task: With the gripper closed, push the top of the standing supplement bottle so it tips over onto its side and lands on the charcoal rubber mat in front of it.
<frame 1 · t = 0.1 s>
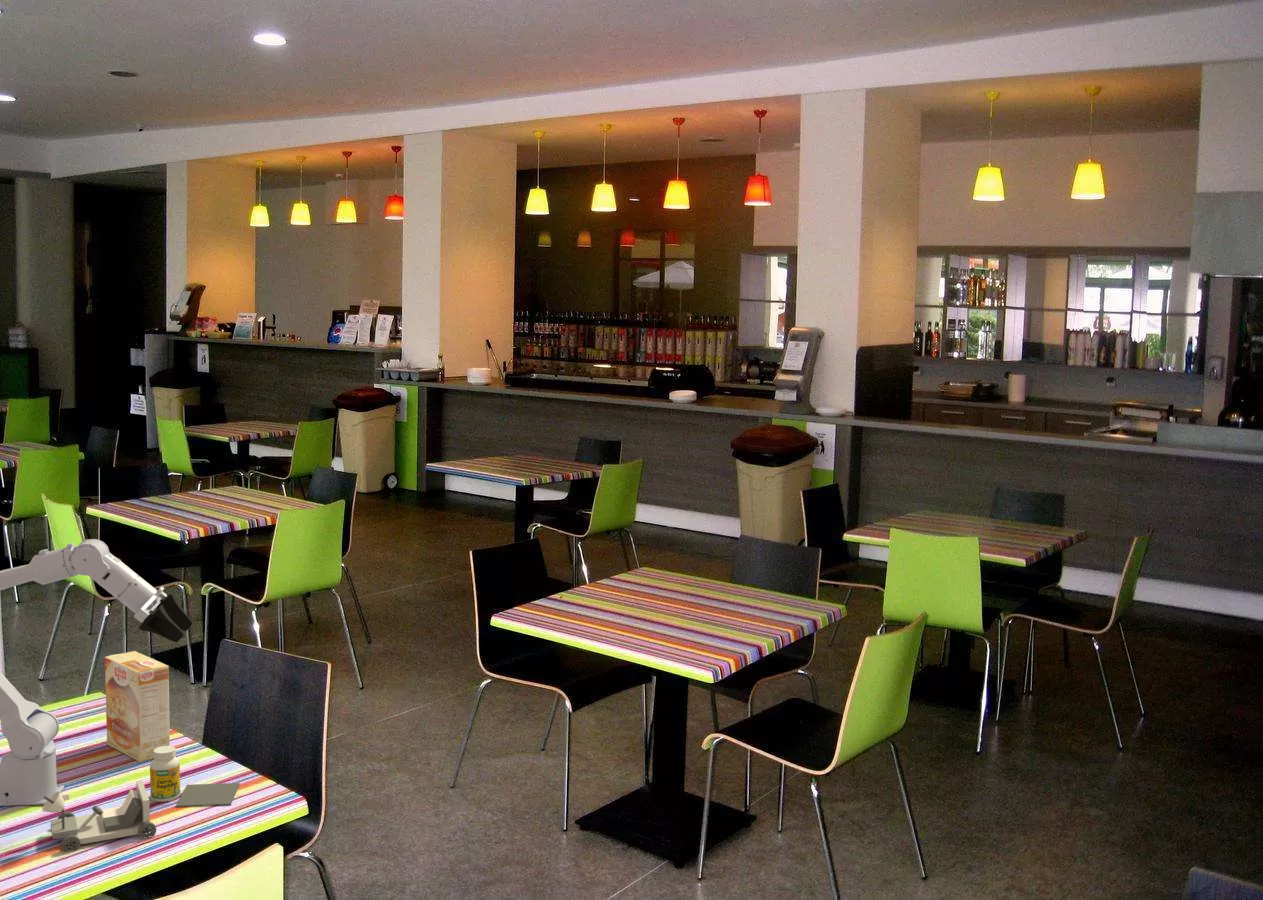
hand: (185, 632, 227), 32 cm above the table, tool tilted 50°, fingers open, 7 cm apart
toy car: (98, 835, 213), on the table
supplement bottle: (165, 798, 229), on the table
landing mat: (208, 795, 230), on the table
coffeecake box: (138, 750, 252), on the table
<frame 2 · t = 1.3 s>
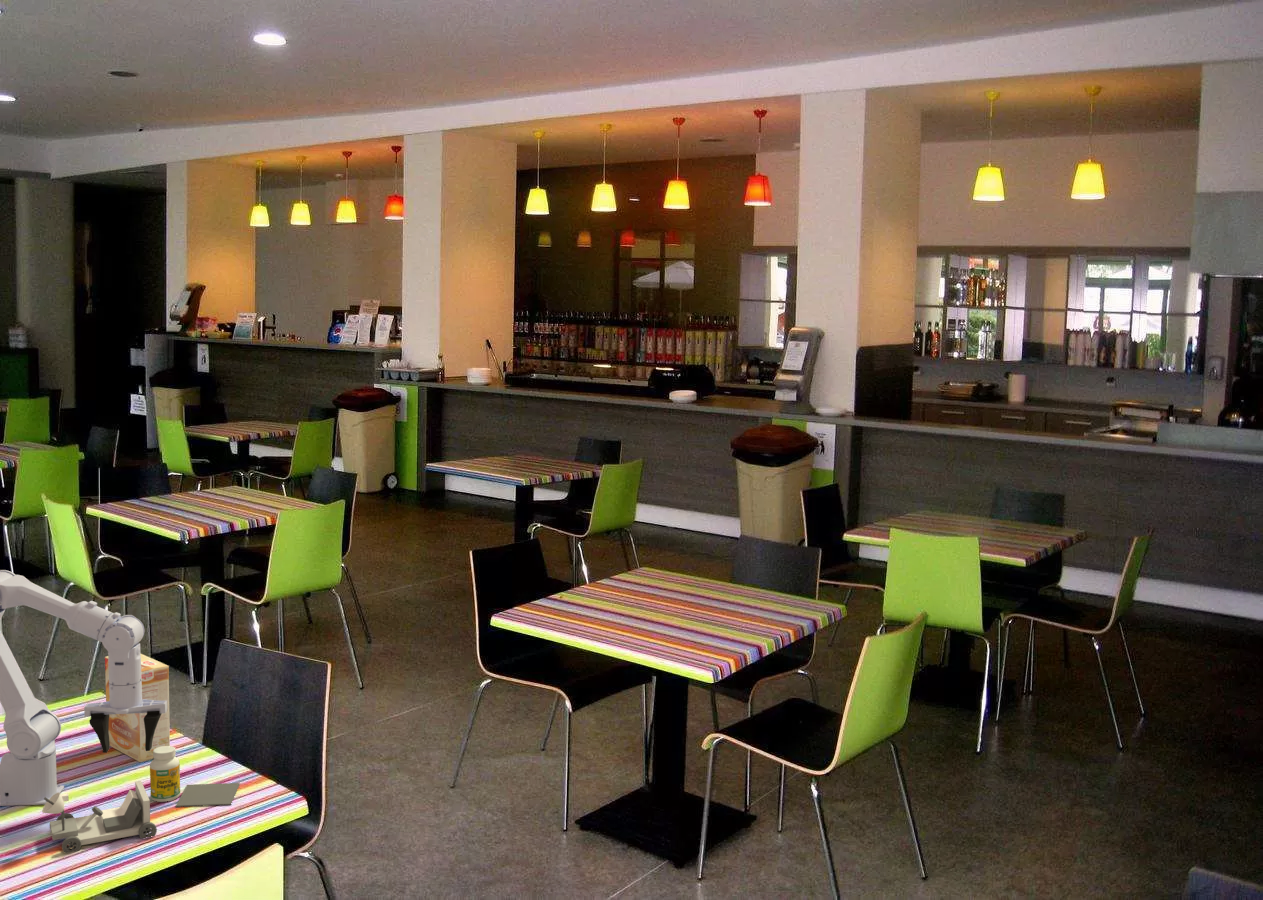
hand: (127, 750, 226), 10 cm above the table, tool pointing down, fingers open, 7 cm apart
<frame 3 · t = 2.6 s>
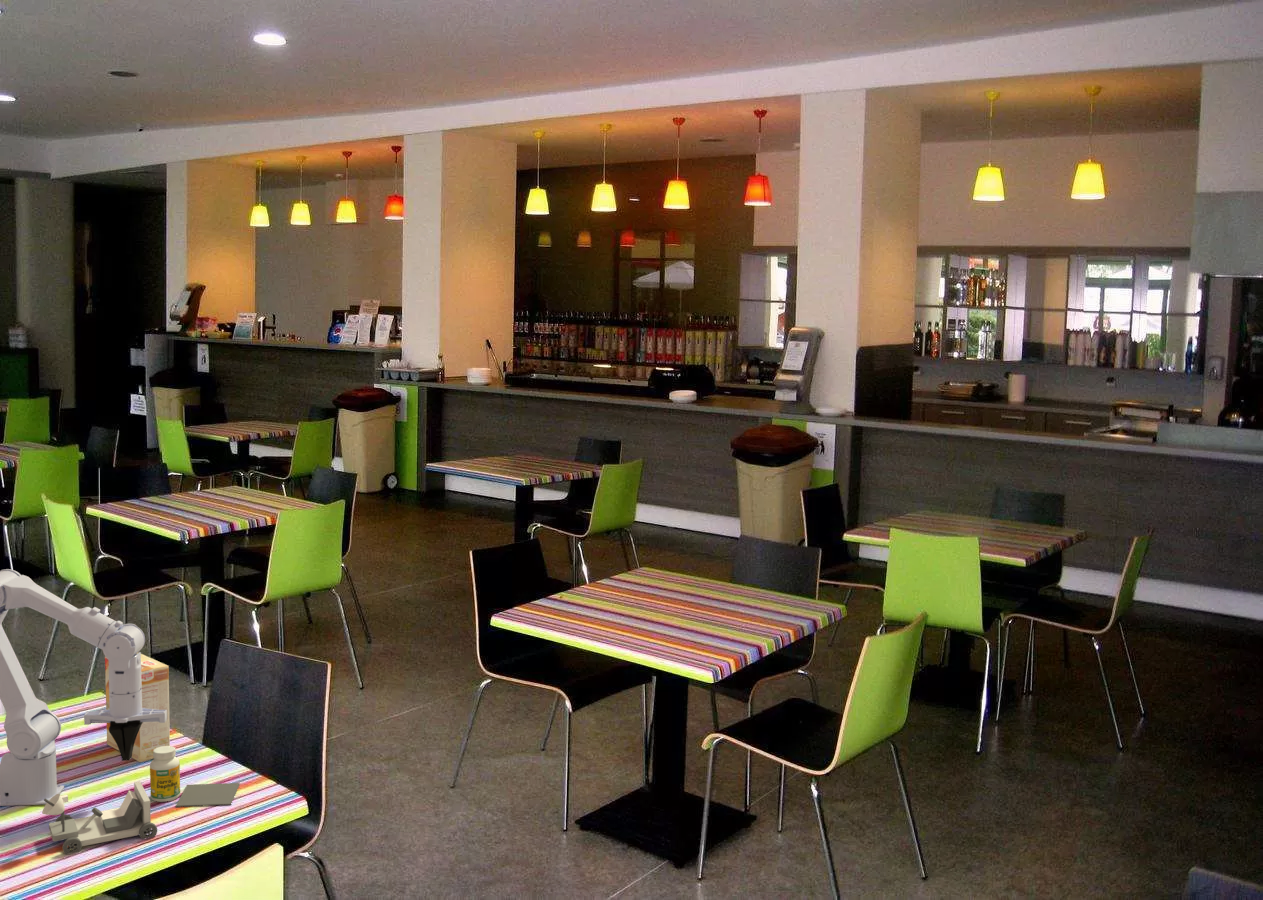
hand: (126, 758, 226), 8 cm above the table, tool pointing down, fingers closed
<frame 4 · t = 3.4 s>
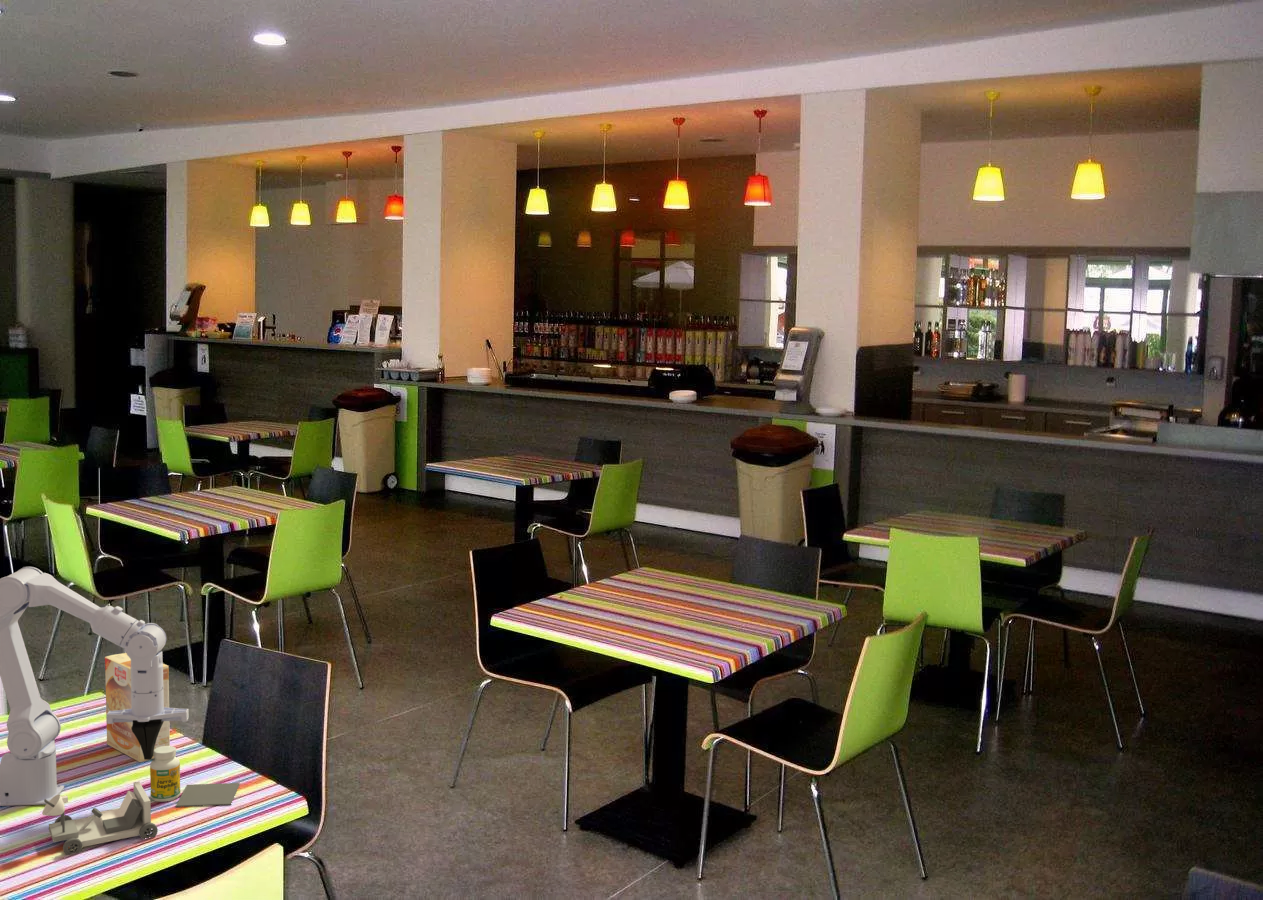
hand: (148, 757, 227), 8 cm above the table, tool pointing down, fingers closed
supplement bottle: (165, 798, 229), on the table, touching gripper
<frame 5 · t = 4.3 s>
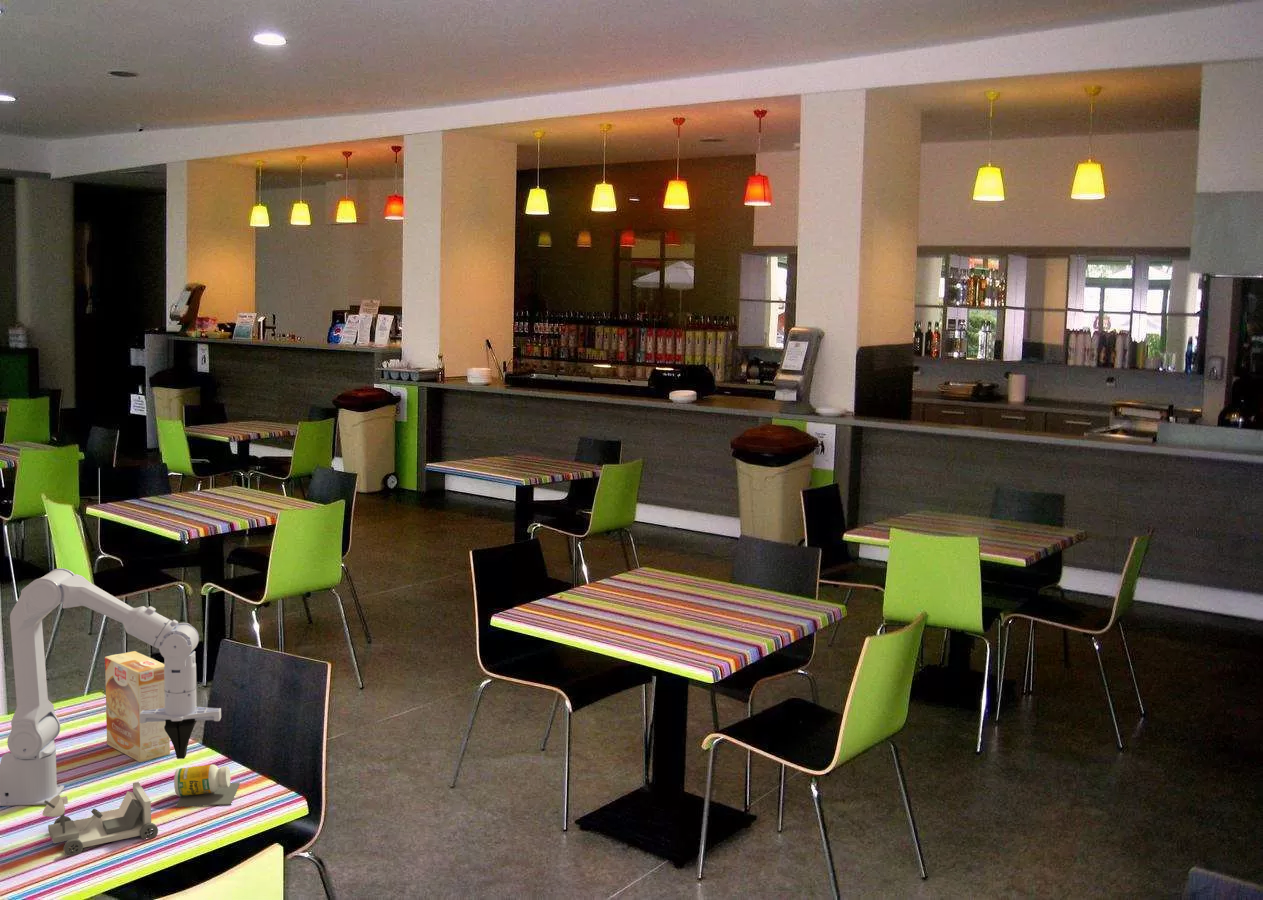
hand: (181, 756, 228), 8 cm above the table, tool pointing down, fingers closed
supplement bottle: (176, 782, 229), point 3 cm above the table, touching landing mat
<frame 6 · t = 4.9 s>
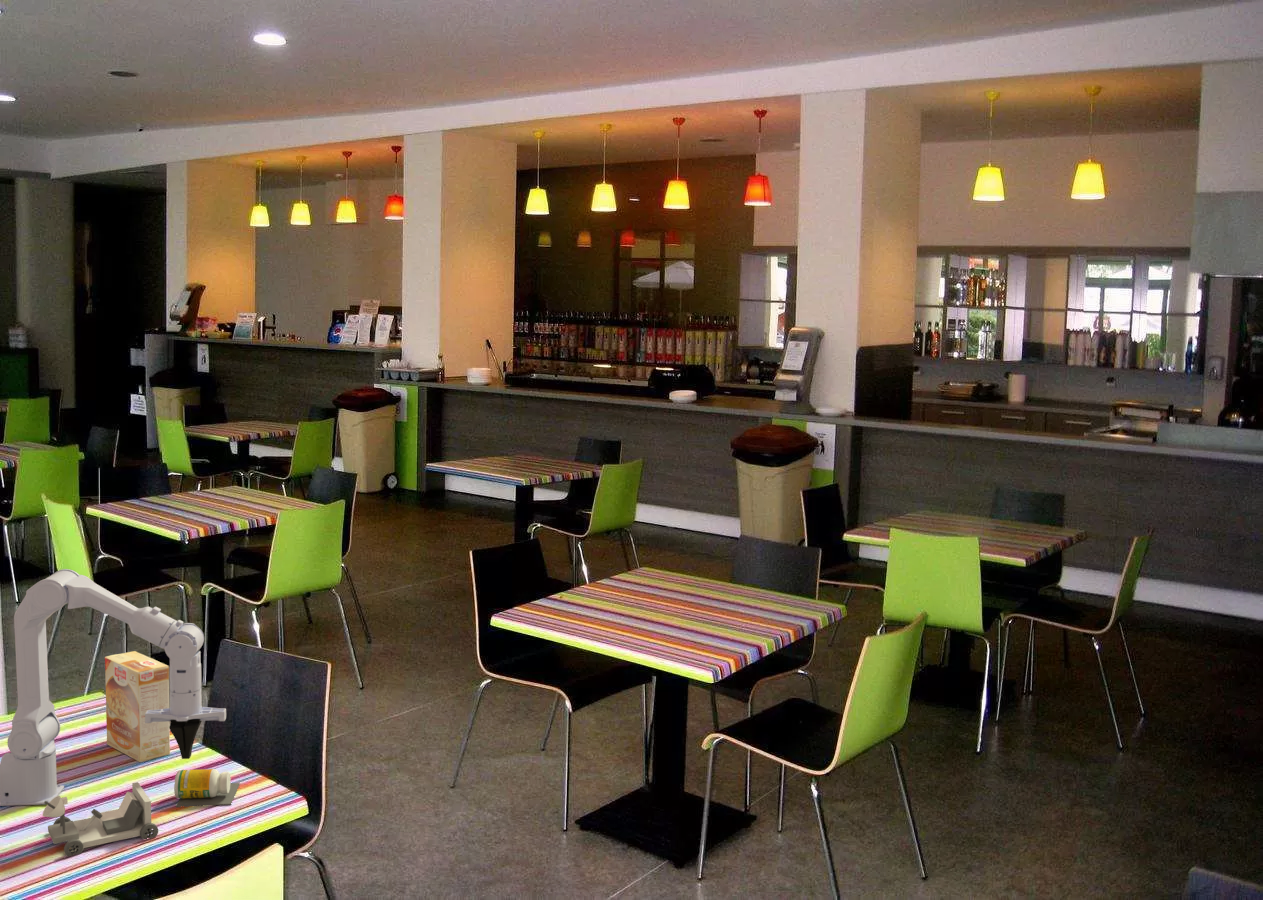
hand: (186, 757, 228), 8 cm above the table, tool pointing down, fingers closed
supplement bottle: (175, 784, 227), point 3 cm above the table, touching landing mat
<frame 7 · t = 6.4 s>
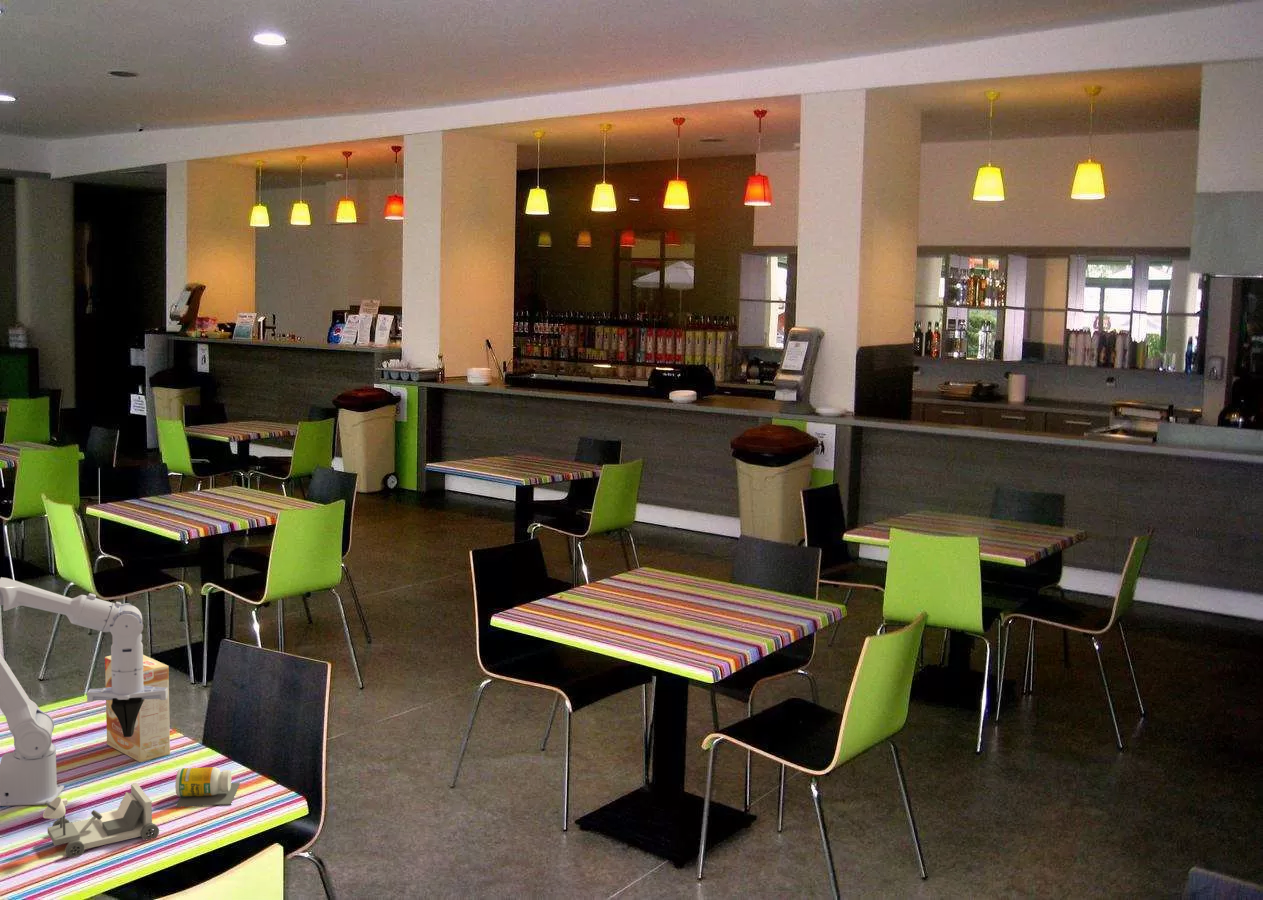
hand: (128, 735, 232), 10 cm above the table, tool pointing down, fingers closed
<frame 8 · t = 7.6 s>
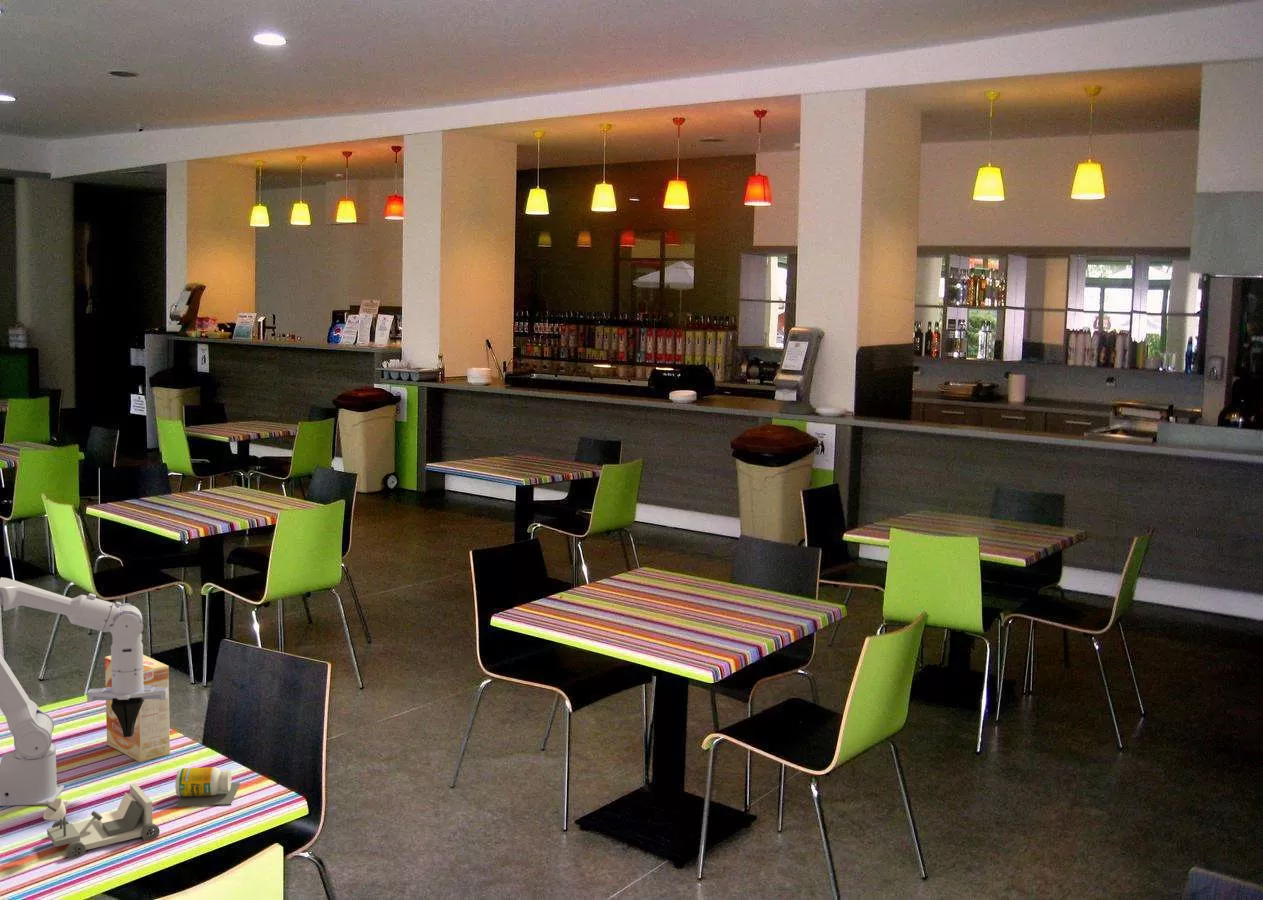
hand: (128, 735, 232), 10 cm above the table, tool pointing down, fingers closed
at the end: supplement bottle tilted 90°; supplement bottle touching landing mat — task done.
